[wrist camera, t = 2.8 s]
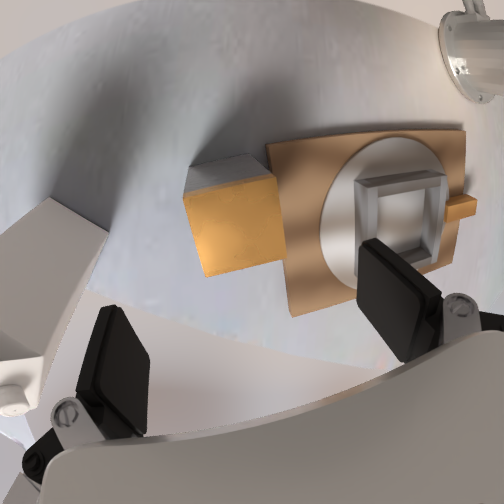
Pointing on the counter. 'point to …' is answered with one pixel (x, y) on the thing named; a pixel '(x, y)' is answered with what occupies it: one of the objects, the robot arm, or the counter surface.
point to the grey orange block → (234, 214)
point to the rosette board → (366, 205)
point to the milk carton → (40, 295)
